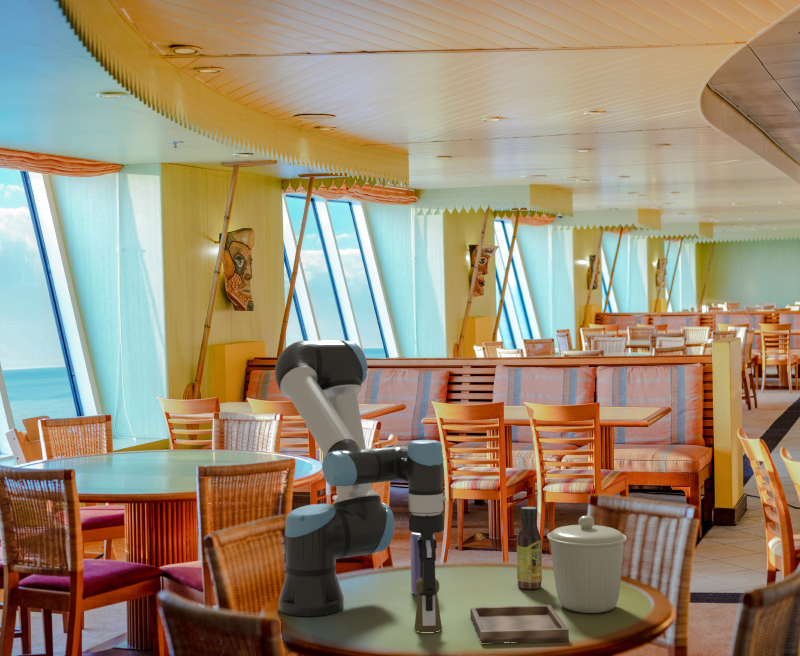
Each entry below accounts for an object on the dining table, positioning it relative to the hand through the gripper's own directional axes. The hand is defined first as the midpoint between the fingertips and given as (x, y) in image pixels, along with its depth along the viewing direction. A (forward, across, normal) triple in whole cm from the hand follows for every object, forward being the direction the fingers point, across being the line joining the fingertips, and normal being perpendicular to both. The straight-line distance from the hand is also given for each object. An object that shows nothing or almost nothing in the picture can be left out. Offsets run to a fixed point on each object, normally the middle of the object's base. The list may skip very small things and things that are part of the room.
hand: (428, 621), depth 197 cm
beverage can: (+2, +29, -1) cm, 29 cm away
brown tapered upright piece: (+2, 0, 0) cm, 2 cm away
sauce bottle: (+2, +32, -28) cm, 43 cm away
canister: (+2, +13, -38) cm, 40 cm away
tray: (+2, -2, -19) cm, 19 cm away
